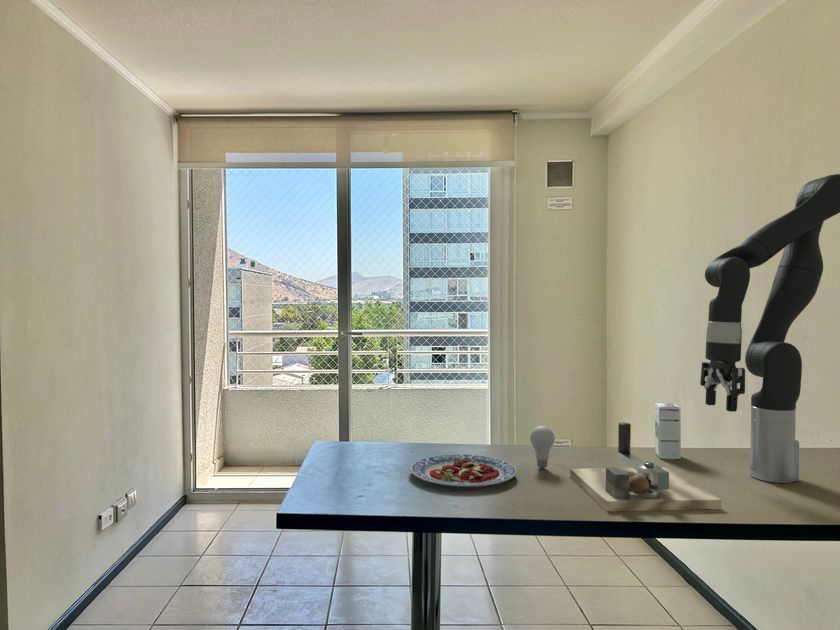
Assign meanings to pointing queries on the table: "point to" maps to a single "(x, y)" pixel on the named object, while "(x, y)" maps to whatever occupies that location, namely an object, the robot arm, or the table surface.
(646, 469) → the lever
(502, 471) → the ceramic plate
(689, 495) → the base
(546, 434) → the lightbulb
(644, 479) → the walnut
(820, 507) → the table surface
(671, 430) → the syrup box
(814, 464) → the table surface
